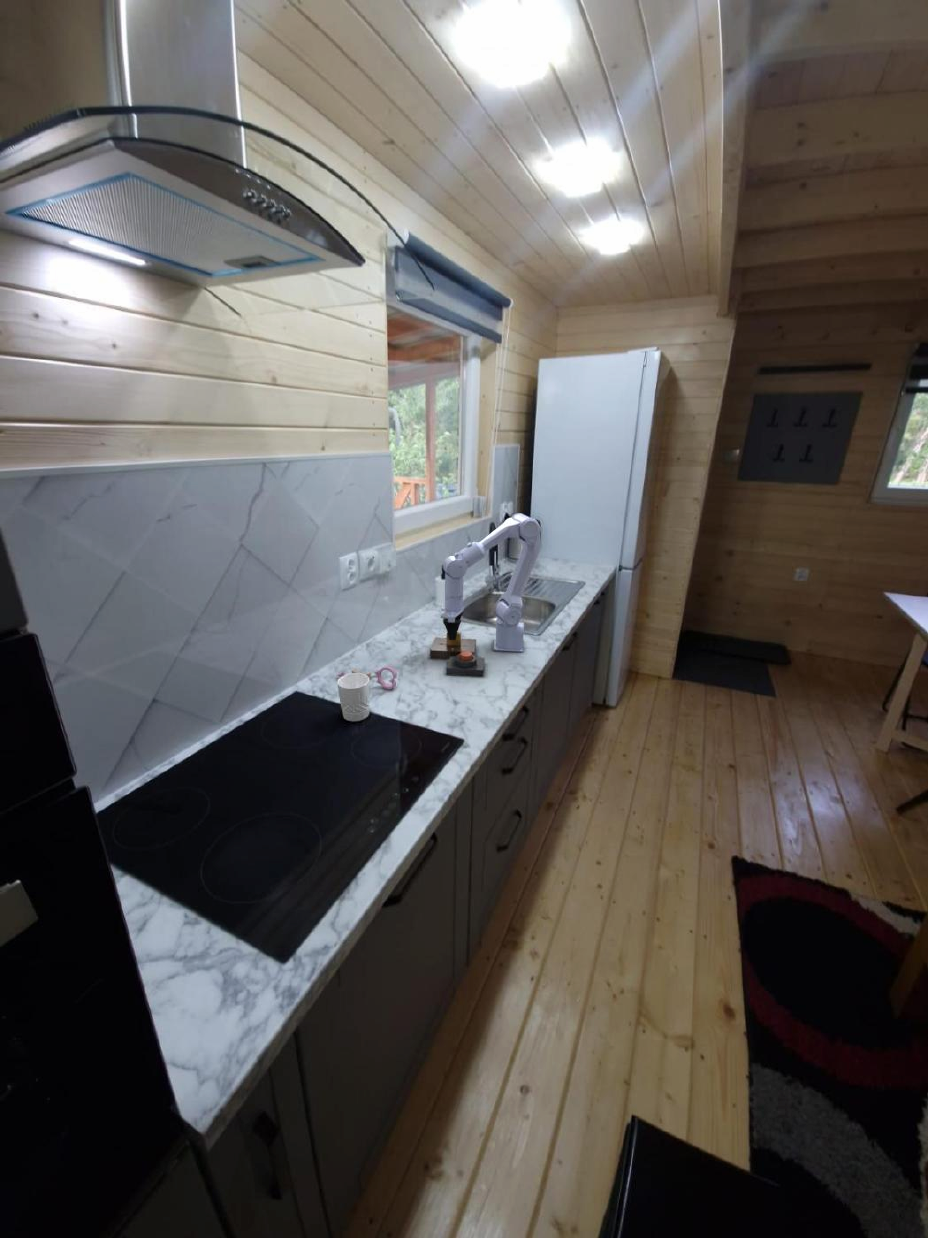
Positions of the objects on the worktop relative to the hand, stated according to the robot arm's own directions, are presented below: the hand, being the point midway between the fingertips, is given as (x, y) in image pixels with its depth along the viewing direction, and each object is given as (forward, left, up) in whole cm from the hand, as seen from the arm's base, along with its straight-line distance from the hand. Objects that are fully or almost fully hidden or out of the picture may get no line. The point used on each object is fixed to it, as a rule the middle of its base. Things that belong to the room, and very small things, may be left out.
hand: (453, 634), depth 160 cm
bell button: (-5, +11, -3) cm, 12 cm away
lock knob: (0, 0, -3) cm, 3 cm away
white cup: (+21, +39, -7) cm, 45 cm away
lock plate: (0, 0, -6) cm, 7 cm away
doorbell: (-5, +11, -6) cm, 14 cm away
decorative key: (+23, +23, -7) cm, 33 cm away
